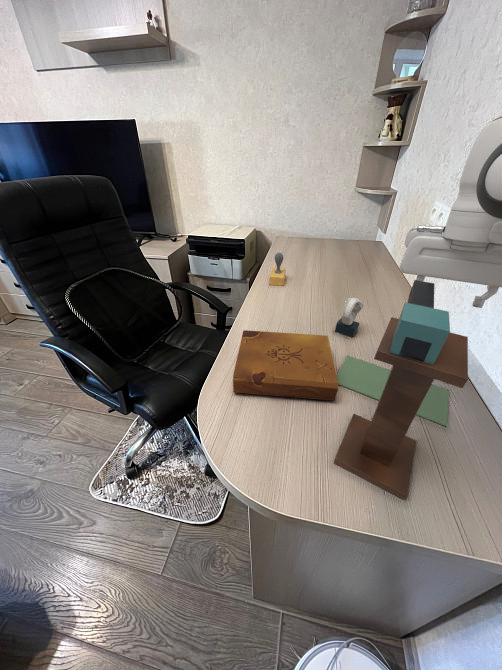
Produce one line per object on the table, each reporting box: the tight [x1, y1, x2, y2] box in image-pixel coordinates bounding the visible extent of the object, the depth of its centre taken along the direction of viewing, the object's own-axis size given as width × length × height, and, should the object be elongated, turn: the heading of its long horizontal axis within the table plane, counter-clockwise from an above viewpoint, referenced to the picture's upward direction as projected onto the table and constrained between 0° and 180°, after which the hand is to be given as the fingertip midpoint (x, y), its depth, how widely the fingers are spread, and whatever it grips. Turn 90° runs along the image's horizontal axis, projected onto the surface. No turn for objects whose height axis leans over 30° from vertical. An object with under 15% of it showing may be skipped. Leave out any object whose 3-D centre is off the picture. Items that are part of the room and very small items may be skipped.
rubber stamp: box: [269, 252, 287, 287], centre depth 114 cm, size 10×6×12 cm, turn 171°
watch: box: [334, 297, 364, 339], centre depth 83 cm, size 6×8×11 cm
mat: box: [336, 355, 450, 428], centre depth 66 cm, size 24×12×1 cm, turn 57°
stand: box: [333, 316, 469, 501], centre depth 45 cm, size 12×12×26 cm
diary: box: [232, 329, 339, 402], centre depth 69 cm, size 23×19×6 cm
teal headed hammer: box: [390, 279, 451, 365], centre depth 40 cm, size 5×19×5 cm, turn 151°
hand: (447, 301), depth 56 cm, fingers open, 8 cm apart
